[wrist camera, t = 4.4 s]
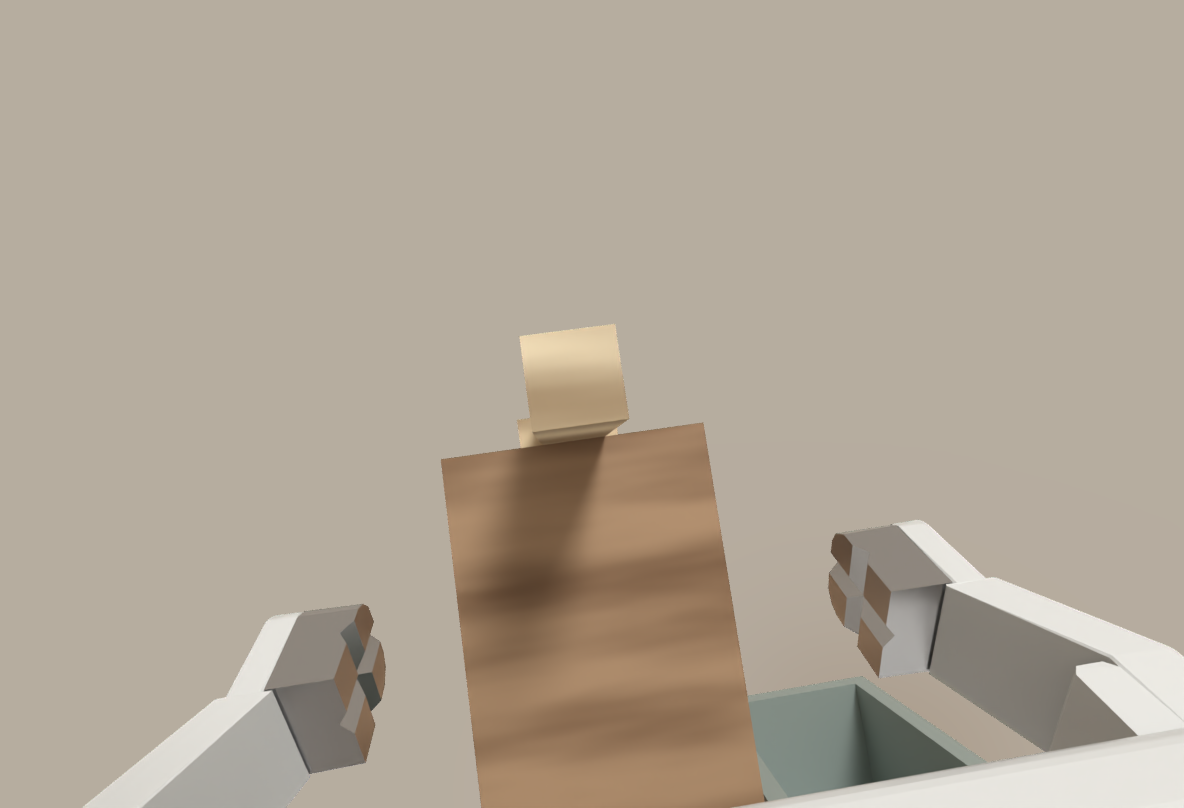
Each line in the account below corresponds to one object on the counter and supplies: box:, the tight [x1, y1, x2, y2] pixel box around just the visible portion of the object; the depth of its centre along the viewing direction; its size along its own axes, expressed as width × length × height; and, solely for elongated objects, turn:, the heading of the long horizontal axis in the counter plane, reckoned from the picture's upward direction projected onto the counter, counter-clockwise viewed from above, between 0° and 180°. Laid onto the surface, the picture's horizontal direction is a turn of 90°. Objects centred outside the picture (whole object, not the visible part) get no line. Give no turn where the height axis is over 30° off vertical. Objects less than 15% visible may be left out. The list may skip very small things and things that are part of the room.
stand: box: [441, 423, 764, 808], centre depth 30 cm, size 19×11×27 cm, turn 3°
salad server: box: [517, 324, 629, 448], centre depth 27 cm, size 24×5×2 cm, turn 3°
